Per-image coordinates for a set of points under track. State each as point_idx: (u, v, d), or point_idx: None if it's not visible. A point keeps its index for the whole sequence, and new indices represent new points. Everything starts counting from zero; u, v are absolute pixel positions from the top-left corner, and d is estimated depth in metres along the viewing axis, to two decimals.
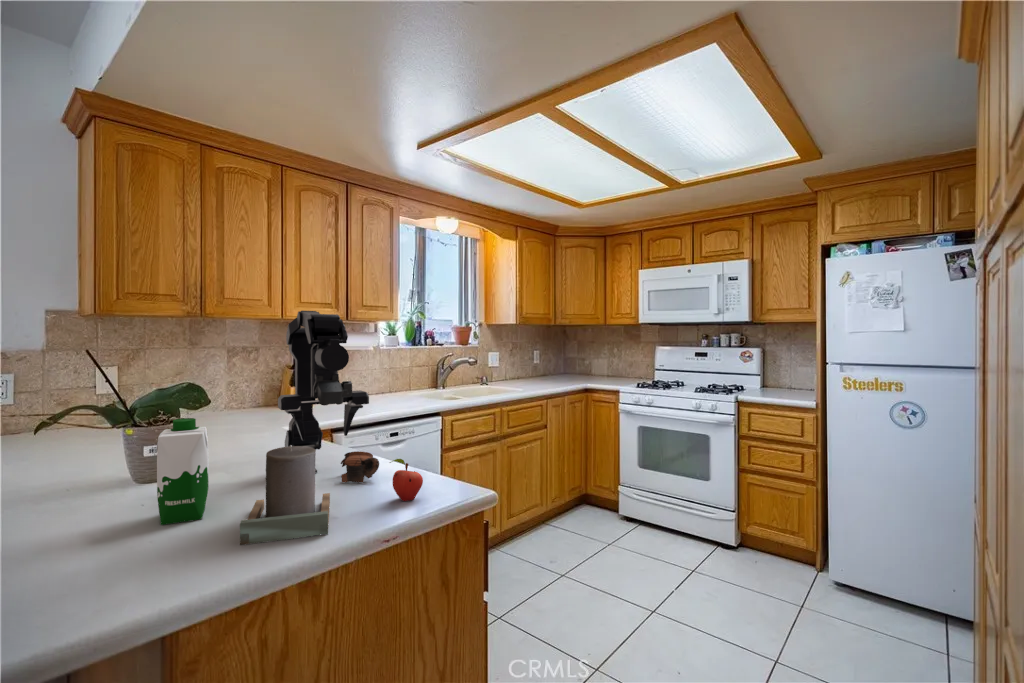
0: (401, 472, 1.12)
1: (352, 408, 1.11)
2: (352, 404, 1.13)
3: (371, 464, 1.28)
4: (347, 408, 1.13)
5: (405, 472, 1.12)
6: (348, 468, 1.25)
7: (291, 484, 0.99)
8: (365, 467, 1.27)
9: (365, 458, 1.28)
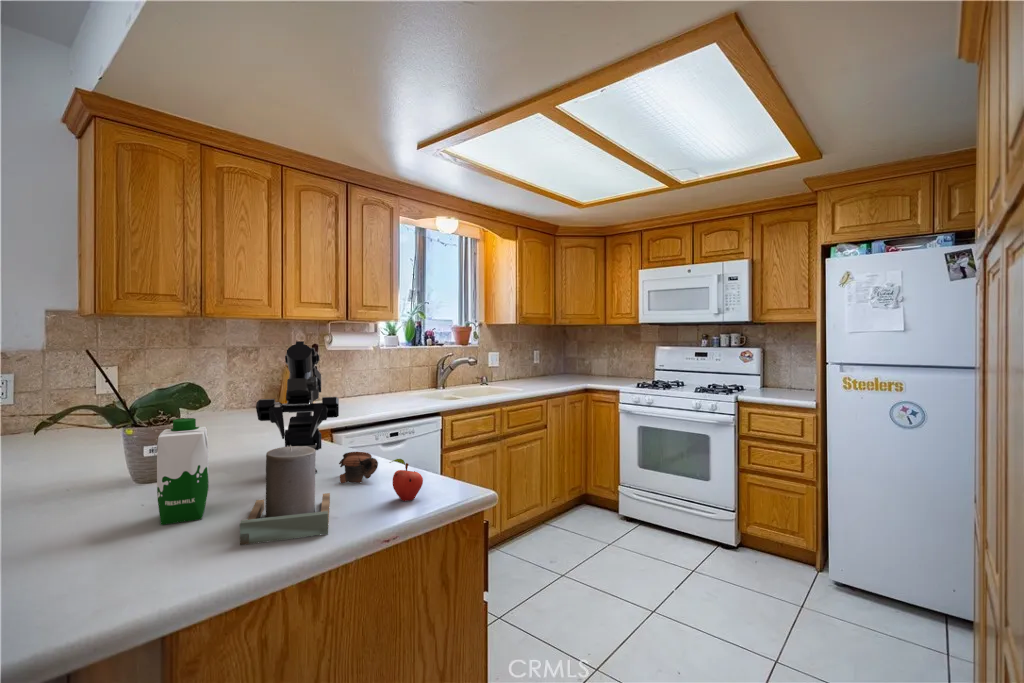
0: (401, 472, 1.12)
1: (315, 407, 1.20)
2: None
3: (370, 464, 1.27)
4: None
5: (405, 472, 1.11)
6: (346, 468, 1.25)
7: (291, 484, 0.99)
8: (364, 467, 1.26)
9: (364, 458, 1.28)
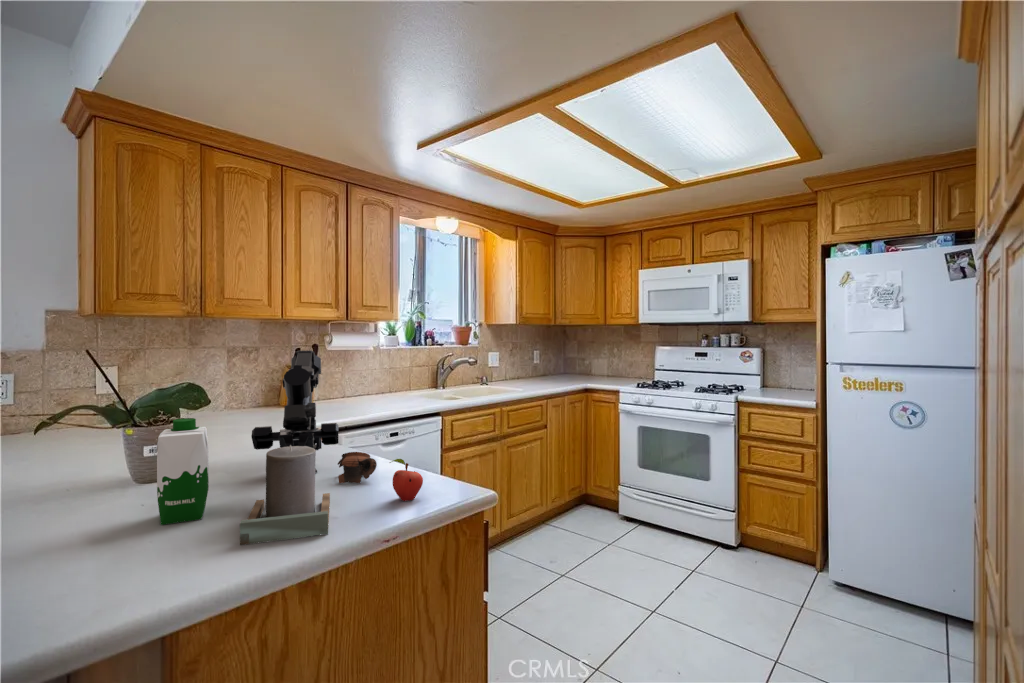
0: (401, 472, 1.12)
1: (300, 435, 1.14)
2: None
3: (368, 465, 1.27)
4: None
5: (405, 472, 1.12)
6: (345, 469, 1.25)
7: (291, 484, 0.99)
8: (362, 468, 1.26)
9: (362, 459, 1.27)
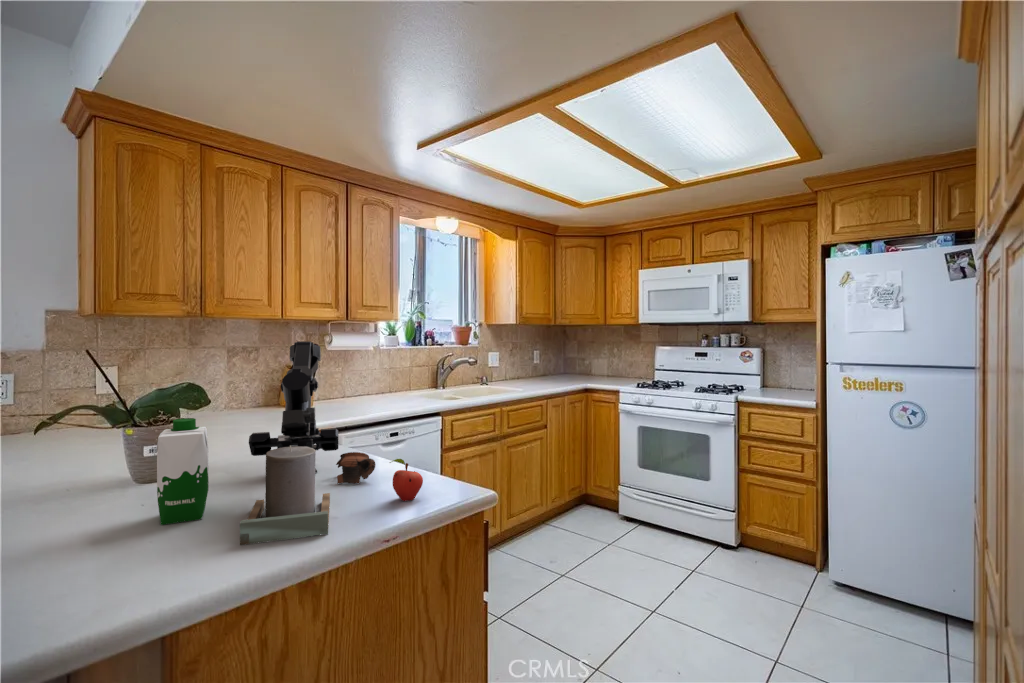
0: (401, 472, 1.12)
1: (299, 441, 1.10)
2: None
3: (367, 465, 1.27)
4: None
5: (405, 472, 1.12)
6: (344, 469, 1.24)
7: (291, 484, 0.98)
8: (361, 468, 1.26)
9: (361, 459, 1.27)
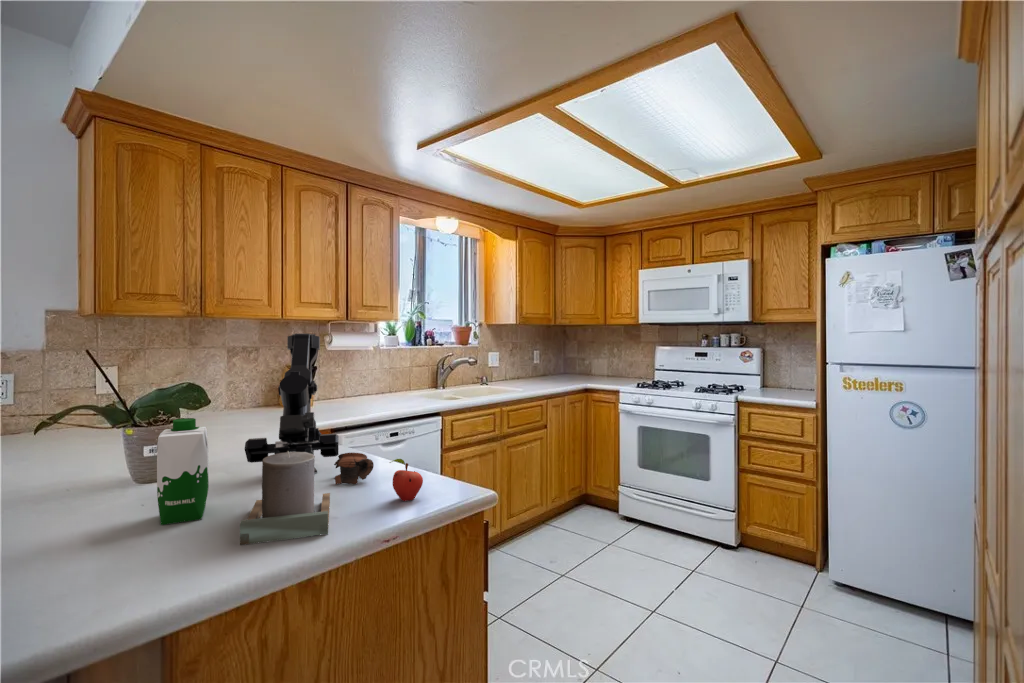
0: (401, 472, 1.12)
1: (297, 448, 1.05)
2: None
3: (365, 465, 1.26)
4: None
5: (405, 472, 1.12)
6: (342, 469, 1.24)
7: (289, 492, 0.94)
8: (359, 468, 1.25)
9: (359, 459, 1.27)
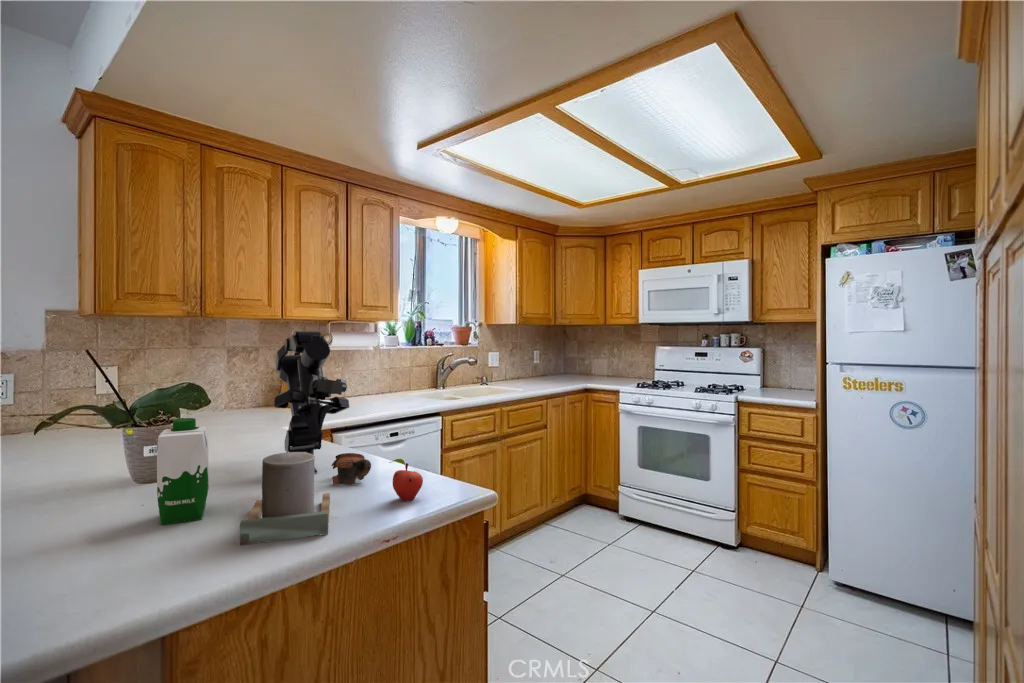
0: (401, 472, 1.12)
1: (325, 407, 1.21)
2: (323, 405, 1.22)
3: (363, 466, 1.26)
4: None
5: (405, 472, 1.12)
6: (339, 470, 1.23)
7: (289, 492, 0.94)
8: (357, 469, 1.25)
9: (356, 460, 1.26)
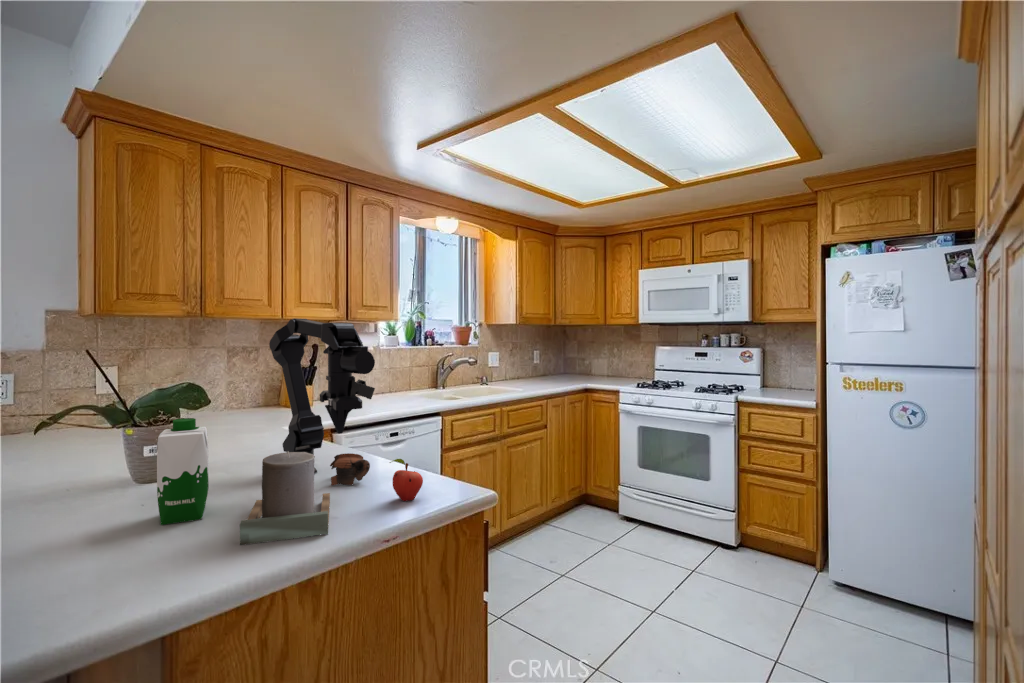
0: (401, 472, 1.12)
1: None
2: None
3: (361, 466, 1.26)
4: None
5: (405, 472, 1.12)
6: (338, 470, 1.23)
7: (289, 492, 0.94)
8: (355, 469, 1.24)
9: (355, 460, 1.26)
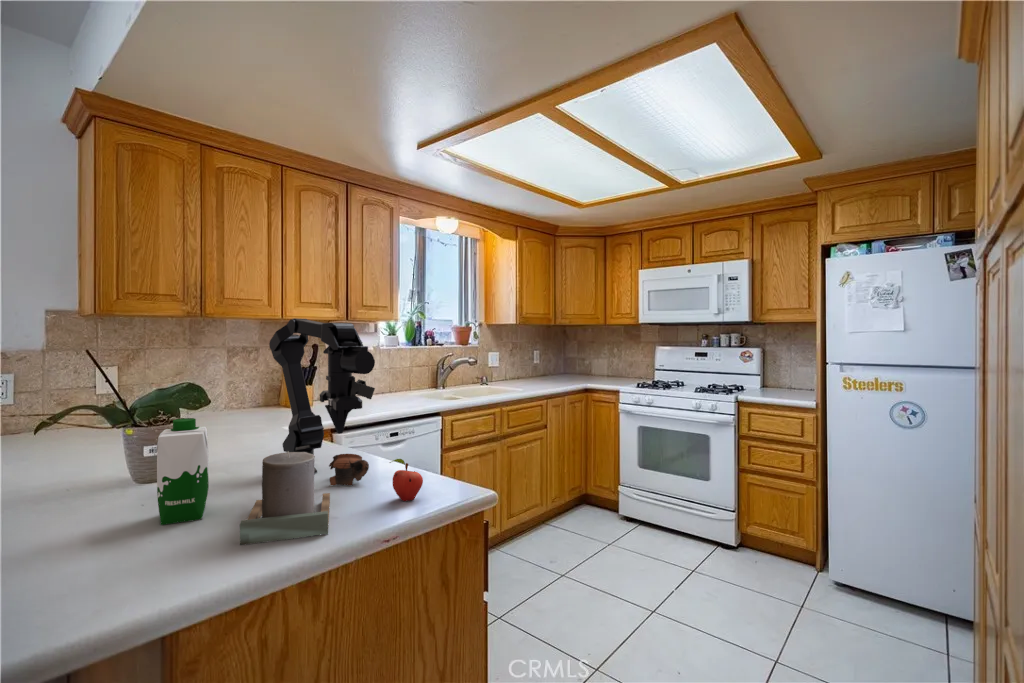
0: (401, 472, 1.12)
1: None
2: None
3: (360, 466, 1.25)
4: None
5: (405, 472, 1.12)
6: (337, 471, 1.23)
7: (289, 492, 0.94)
8: (354, 470, 1.24)
9: (354, 460, 1.26)
